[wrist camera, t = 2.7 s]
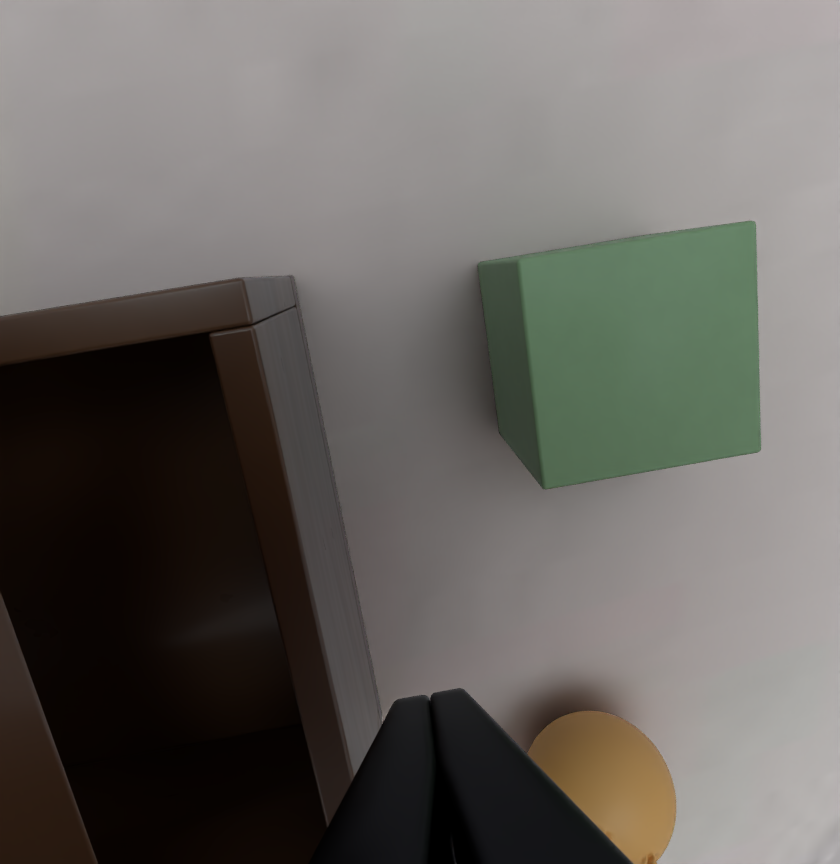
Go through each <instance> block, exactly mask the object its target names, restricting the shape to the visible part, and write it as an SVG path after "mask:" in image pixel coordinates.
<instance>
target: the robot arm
mask: <svg viewBox="0 0 840 864" xmlns="http://www.w3.org/2000/svg"><path fill="white" fill-rule="evenodd" d="M308 864H634V863H633V862H632V861H631V860H630V859H629V858H628V857H627V856H626V855H625V854H624V853H623V852H622V851H621V850H620V849H619V848H618V847H617V846H616V845H615V844H614V843H613V842H612V841H611V840H610V839H609V838H608V837H607V836H606V835H605V834H604V833H603V832H602V831H601V830H600V829H599V827H598V826H597V825H596V824H595V823H594V822H593V821H592V820H591V819H590V818H589V817H588V816H587V815H586V814H585V813H584V812H583V811H582V810H581V809H580V808H579V807H578V806H577V805H576V804H575V803H574V802H573V801H572V800H571V799H570V798H569V797H568V796H567V795H566V794H565V793H564V791H563V790H562V789H561V788H560V787H559V786H558V785H557V784H556V783H555V782H554V781H553V780H552V779H551V778H550V777H549V776H548V775H547V774H546V773H545V772H544V771H543V770H542V769H541V768H540V767H539V766H538V765H537V764H536V763H535V762H534V761H533V760H532V759H531V758H530V757H529V755H528V754H527V753H526V752H525V751H524V750H523V749H522V748H521V747H520V746H519V745H518V744H517V743H516V742H515V741H514V740H513V739H512V738H511V737H510V736H509V735H508V734H507V733H506V732H505V731H504V730H503V729H502V728H501V727H500V726H499V725H498V724H497V723H496V722H495V721H494V719H493V718H492V717H491V716H490V715H489V714H488V713H487V712H486V711H485V710H484V709H483V708H482V707H481V706H480V705H479V704H478V703H477V702H476V701H475V700H474V699H473V698H472V697H471V696H470V695H469V694H468V693H467V692H466V691H465V690H464V689H461V688H457V689H452V690H446V691H441V692H435V693H433V694H432V695H431V697H430V700H429V698H428V696H426V695H419V696H413V697H408V698H402V699H398V700H396V701H395V702H394V703H393V705H392V707H391V708H390V710H389V712H388V714H387V716H386V718H385V720H384V722H383V724H382V725H381V727H380V729H379V731H378V733H377V735H376V737H375V739H374V741H373V742H372V744H371V746H370V748H369V750H368V752H367V754H366V756H365V758H364V759H363V761H362V763H361V765H360V767H359V769H358V771H357V773H356V774H355V776H354V778H353V780H352V782H351V784H350V786H349V788H348V790H347V791H346V793H345V795H344V797H343V799H342V801H341V803H340V805H339V807H338V808H337V810H336V812H335V814H334V816H333V818H332V820H331V822H330V824H329V825H328V827H327V829H326V831H325V833H324V835H323V837H322V839H321V841H320V842H319V844H318V846H317V848H316V850H315V852H314V854H313V856H312V858H311V859H310V861H309V863H308Z"/></svg>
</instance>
